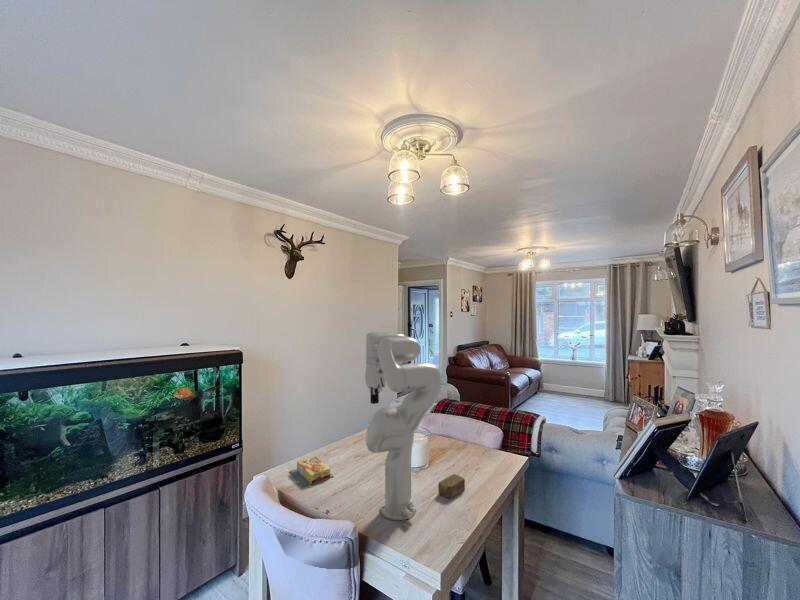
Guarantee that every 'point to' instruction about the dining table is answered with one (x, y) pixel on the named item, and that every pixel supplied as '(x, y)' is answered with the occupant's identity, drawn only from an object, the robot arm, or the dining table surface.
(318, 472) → the candy box
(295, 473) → the mat
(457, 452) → the dining table surface
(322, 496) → the dining table surface
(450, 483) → the stone block
